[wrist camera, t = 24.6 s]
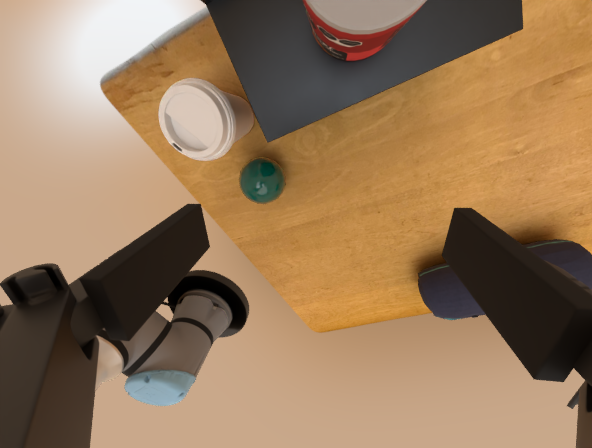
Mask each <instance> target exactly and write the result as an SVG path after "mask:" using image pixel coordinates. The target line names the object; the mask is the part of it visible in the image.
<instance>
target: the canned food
mask: <svg viewBox="0 0 592 448" xmlns="http://www.w3.org/2000/svg"><path fill="white" fill-rule="evenodd" d="M426 1H427V0H303V3H304V6H305V9H306V13H307V16H308V19H309V22H310V25H311V29H312V32H313V34H314V36H315V38H316V40H317V42H318V43H319V45H320V46H321V47H322V48H323V49H324V50H325V51H326V52H327V53H329V54H330V55H332V56H334V57H336V58H338V59H342V60H346V61H356V60H360V59H365V58H367V57H369V56H371V55H373V54H375V53H376V52H378V51H379V50H381V49H382V48H383V47H384V46H385V45H386V44H387V43H388V42H389V41H390V40H391V39H392V38H393V37H394V36H395V35H396V34H397V33H398V32H399V31H400V30H401V28H402V27H403V26H404V25H405V24H406V23H407V22H408V21H409V20H410V19H411V18H412V17H413V16H414V15H415V13H416V12H417V11H418V10H419V9H420V8H421V7H422V5H423V4H424V3H425V2H426Z"/></svg>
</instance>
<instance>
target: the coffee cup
mask: <svg viewBox="0 0 592 448" xmlns="http://www.w3.org/2000/svg"><path fill="white" fill-rule="evenodd" d="M159 123H160V126H161V129H162V132H163V134H164V136H165V137H166V139H167V140H168V142H169V143H170V144H171V145H172V146H173V147H174V148H175V149H176V150H177V151H179V152H180V153H182V154H184V155H186V156H187V157H190V158H192V159H195V160H200V161H212V160H216V159H218V158H220V157H222V156H223V155H225V154H226V153H227V152H228V151H229V149H230V148H231V146H232V144H233V143H235V142H236V141H238V140H239V139H240V138H242V137H243V136H245V135H246V134H247V133H249V131H250V130H251V129H252V126H253V123H254V114H253V110H252V108H251V106H250V105H249V103H248V102H247V101H246V100H245V99H243V98H241V97H239V96H236V95H233V94H230V93H227V92H224V91H221V90H219V89H218V88H217V87H216V86H215V85H213V84H211V83H210V82H208V81H206V80H203V79H199V78H186V79H182V80H180V81H178V82H176V83H174V84H173V85H172V86H171V87H170V88H169V89H168V90H167V91H166V93H165V94H164V96H163V98H162V100H161V102H160V105H159Z"/></svg>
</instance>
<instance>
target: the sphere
mask: <svg viewBox="0 0 592 448" xmlns="http://www.w3.org/2000/svg"><path fill="white" fill-rule="evenodd" d="M239 184H240V188H241V190H242V193H243V194H244V195H245V196H246V198H248V199H249V200H251V201H252V202H255V203H258V204H267V203H271V202H273V201H275V200H276V199H278V198H279V197H280V195H281V194H282V193H283V191H284V188H285V185H286V177H285V174H284V171H283V169H282V168H281V166H280V165H279V164H278V163H277V162H275V161H274V160H272V159H270V158H267V157H257V158H254V159H251V160H250V161H248V162H247V163H246V164H245V165H244V166H243V168H242V170H241V171H240V176H239Z"/></svg>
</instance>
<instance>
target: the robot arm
mask: <svg viewBox="0 0 592 448" xmlns="http://www.w3.org/2000/svg"><path fill="white" fill-rule="evenodd" d="M209 247H210V245H209V240H208V236H207V232H206V226H205V222H204V218H203V213H202V208H201V204H187V205H186V206H184V207H183V208H181V209H180V210H178V211H177V212H175V213H174V214H172V215H171V216H169V217H168V218H167V219H165V220H164V221H162V222H161V223H159V224H158V225H156V226H155V227H153V228H152V229H151V230H149V231H148V232H146V233H145V234H143V235H142V236H140V237H139V238H138V239H136V240H135V241H133V242H132V243H131V244H129V245H128V246H126V247H124V248H123V249H121V250H119V251H118V252H116V253H115V254H113V255H112V256H110V257H109V258H108V259H106V260H104V261H103V262H102V263H100V265H97V266H96V267H94V268H93V269H91V270H90V271H88V272H87V273H86V274H84V275H83V276H81V277H80V278H78V279H77V280H75V281H74V282H72V283H71V284H69V285H68V283H67V281H66V279H65V278H64V276H63V274H62V272H61V270H60V268H59V267H58V265H56V264H42V265H37V266H33V267H30V268H27V269H24V270H21V271H19V272H17V273H15V274H13V275H11V276H9V277H7V278H6V279H4V280H3V281H2V282H1V283H0V286H1V287H2V288H3V290H4V291H5V293H6V294H7V296H8V297H9V298H10V300H11V301H12V303H13V304H12V305H6V306H1V305H0V448H90V439H91V429H92V428H91V427H92V418H93V407H94V397H95V391H96V390H97V388H98V387H99V386H100V385H101V384H102V382H105V381H109V380H112V379H115V378H116V377H118V376H119V374H120V373H121V372H122V373H123V374H125V375H126V376H128V377H129V378H128V379H127V380H126V383H125V390H126V392H128V394H129V395H130V396H131V397H133V398H134V399H136V400H138V401H141V402H144V403H147V404H152V405H158V406H167V405H173V404H176V403H178V402H180V401H181V400H182V399H183V398H184V397H185V396H186V395H187V393H188V391H189V389H190V387H191V386H192V384H193V383H194V382H195V380H196V377H197V375H198V373H199V370H200V368H201V366H202V364H203V362H204V360H205V358H206V356H207V354H208V352H209V350H210V348H211V346H212V344H213V342H214V341H215V340H216V339H217V338H218V337H219V336H220V335H221V334H222V333H223V332H224V331H225V330H226V329H227V328H228V327H229V325H230V323H231V321H232V318H233V310H232V307H231V305H230V304H229V302H228V301H227V300H226V299H225V298H224V297H223V296H222V295H220V294H219V293H217V292H215V291H213V290H210V289H207V288H192V289H189V290H187V291H186V292H184V294H183V295H182V296H181V297H180V299H179V300H178V303H177V305H174V304H170V303H167V302H164V300H165V299H166V298H167V297H168V295H169V294H170V293H171V292H172V291H173V289H174V288H175V287H176V286H177V285H178V284H179V282H180V281H181V280H182V279H183V278H184V277H185V275H186V274H187V273H188V272H189V271H190V270H191V268H192V267H193V266H194V265H195V264H196V262H197V261H198V260H199V259H200V258H201V257H202V255H203V254H204V253H205V252H206V251H207V250H208V248H209ZM442 257H443V258H444V259H445V261H446V262H447V263H448V265H449V266H450V267H451V269H452V270H453V271H454V273H455V274H456V275H457V277H458V278H459V279H460V281H461V282H462V283H463V285H464V286H465V287H466V289H467V290H468V291H469V293H470V294H471V295H472V297H473V298H474V299H475V301H476V302H477V304H478V305H479V306H480V308H481V309H482V310H483V312H484V313H485V314H486V316H487V317H488V318H489V320H490V321H491V322H492V324H493V325H494V326H495V328H496V329H497V330H498V332H499V333H500V334H501V336H502V337H503V338H504V340H505V341H506V342H507V344H508V345H509V346H510V348H511V349H512V350H513V352H514V353H515V354H516V356H517V357H518V358H519V360H520V361H521V362H522V364H523V365H524V366H525V368H526V369H527V370H528V372H529V373H530V374H531V376H532V377H533V378H534V379H536V380H547V381H557V382H564V381H565V379H566V378H567V377H568V375H569V374H570V372H571V371H572V369H573V368H574V369H575V370H576V371H577V372H578V373H579V374H580V375H581V376H582V377H583V378H584V379H585V382H584V383H583V384H582V386H581V387H580V388H579V390H578V391H577V392H576V393H575V395H574V396H573V397H572V399H571V400H570V401H569V403H568V405H567V406H568V407H570V408H572V409H573V408H574V406H575V405H576V404H578V421H577V439H576V448H592V289H589V287H588V286H587V285H585V284H584V283H582V282H581V281H577V278H575V277H574V276H572V275H571V274H569V273H568V272H567V271H565V270H564V269H562V268H560V267H558V266H556V265H554V264H551V263H549V262H547V261H545V260H543V259H541V258H540V257H539V256H537V255H536V254H534V253H533V252H532V251H530V250H529V249H527V248H526V247H525V246H523V245H522V244H521V243H519V242H518V241H516V240H515V239H514V238H512V237H511V236H509V235H508V234H507V233H505V232H504V231H503V230H501V229H500V228H498V227H497V226H496V225H494V224H493V223H491V222H490V221H489V220H487V219H486V218H485V217H483V216H482V215H480V214H479V213H478V212H476V211H475V210H473V209H472V208H454V211H453V215H452V219H451V223H450V226H449V230H448V234H447V238H446V242H445V245H444V249H443V253H442ZM161 304H163V305H167V306H170V307H173V308H176V309H175V312H174V316H173V319H172V321H171V322H169V321H168V320H166V319H165V318H164V317H163V316H161V315H160V314H159V313H158V312H156V309H157V308H158V307H159V306H160V305H161Z"/></svg>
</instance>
